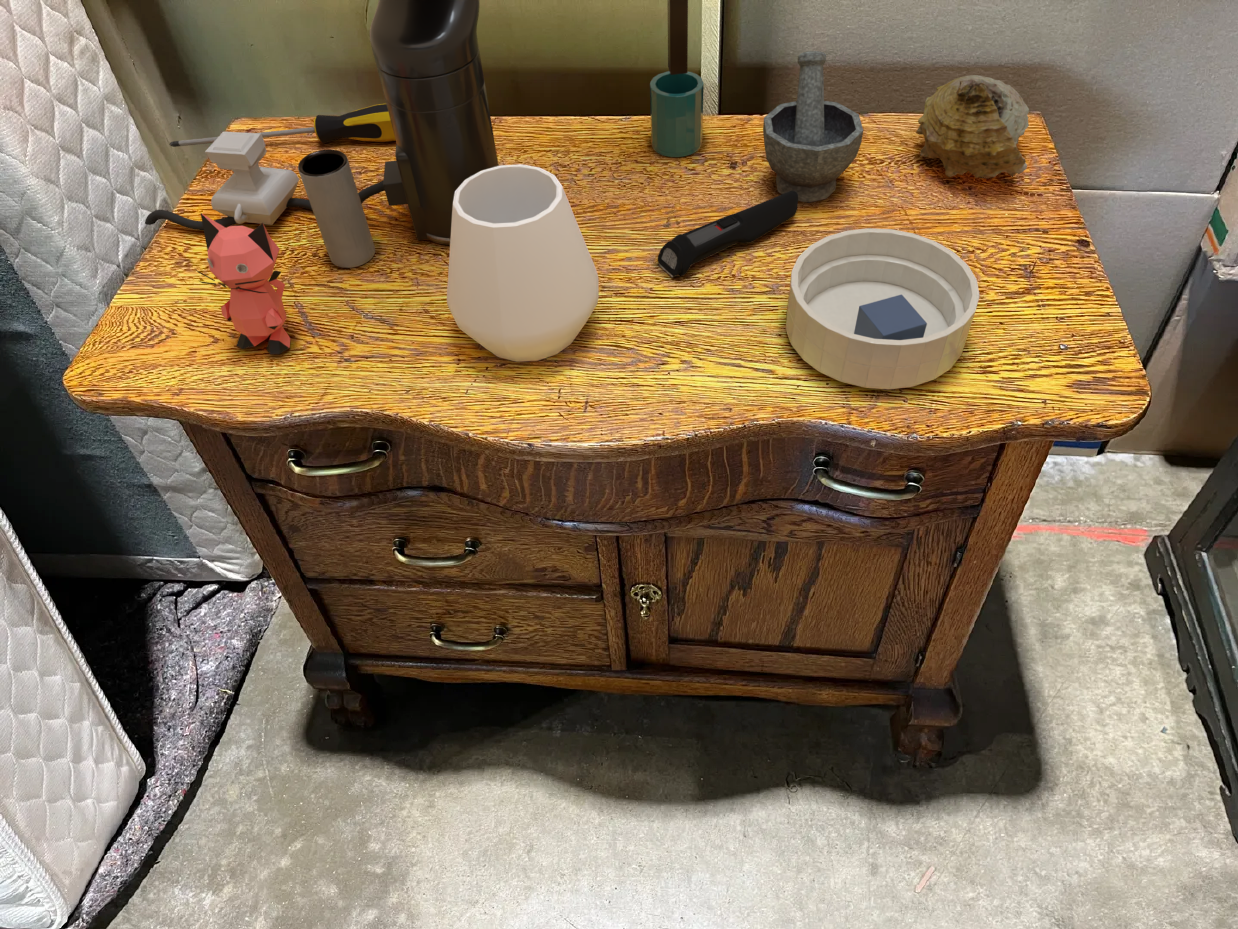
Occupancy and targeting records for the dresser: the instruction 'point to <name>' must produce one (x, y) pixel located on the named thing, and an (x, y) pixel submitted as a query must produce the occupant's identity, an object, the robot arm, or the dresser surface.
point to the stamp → (249, 180)
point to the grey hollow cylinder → (337, 207)
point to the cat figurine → (248, 282)
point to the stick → (677, 36)
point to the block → (890, 320)
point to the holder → (676, 113)
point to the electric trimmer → (726, 233)
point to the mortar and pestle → (811, 136)
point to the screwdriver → (335, 127)
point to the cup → (518, 264)
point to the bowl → (870, 272)
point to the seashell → (975, 127)
